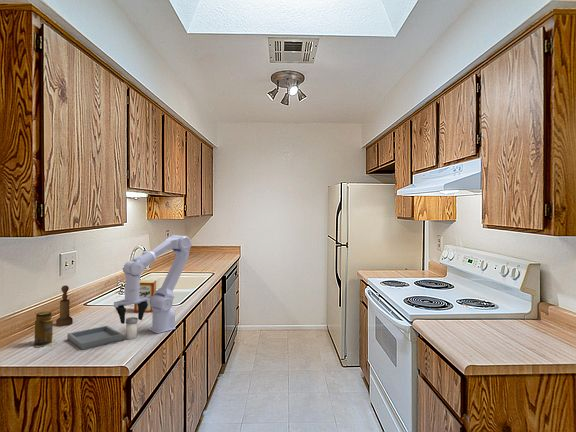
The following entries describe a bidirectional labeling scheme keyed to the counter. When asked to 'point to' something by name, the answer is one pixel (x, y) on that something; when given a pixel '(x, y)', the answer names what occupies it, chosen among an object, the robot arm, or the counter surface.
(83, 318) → the counter surface
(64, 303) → the brown pepper mill
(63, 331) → the counter surface
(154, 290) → the spice box
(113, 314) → the counter surface
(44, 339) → the condiment
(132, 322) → the shaker
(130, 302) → the robot arm
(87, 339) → the tray
